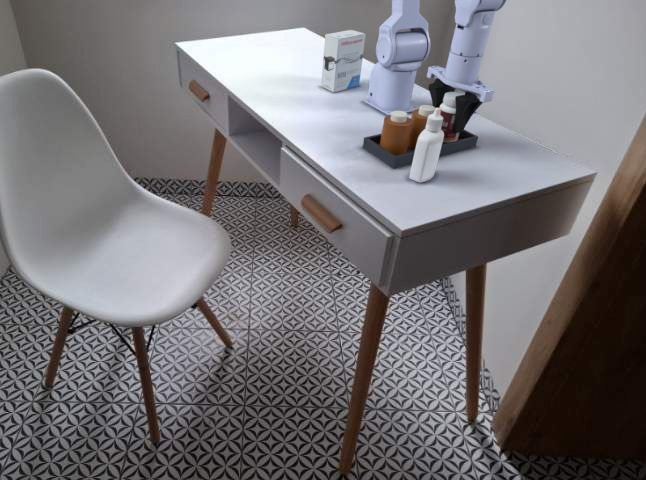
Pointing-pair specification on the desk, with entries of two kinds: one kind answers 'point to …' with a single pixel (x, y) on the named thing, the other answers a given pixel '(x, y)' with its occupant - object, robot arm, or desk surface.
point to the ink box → (342, 60)
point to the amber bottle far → (396, 132)
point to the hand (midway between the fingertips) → (447, 126)
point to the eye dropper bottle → (428, 149)
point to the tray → (373, 147)
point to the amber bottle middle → (419, 123)
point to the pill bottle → (449, 116)
